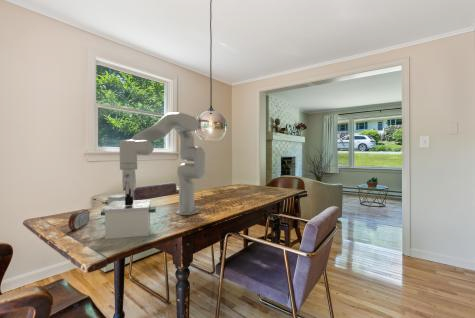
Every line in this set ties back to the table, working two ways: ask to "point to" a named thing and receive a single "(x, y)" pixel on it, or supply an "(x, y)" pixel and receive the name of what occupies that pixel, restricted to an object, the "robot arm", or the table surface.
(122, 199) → the supplement box
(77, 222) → the tin
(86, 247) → the table surface
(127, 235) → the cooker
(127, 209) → the lid
